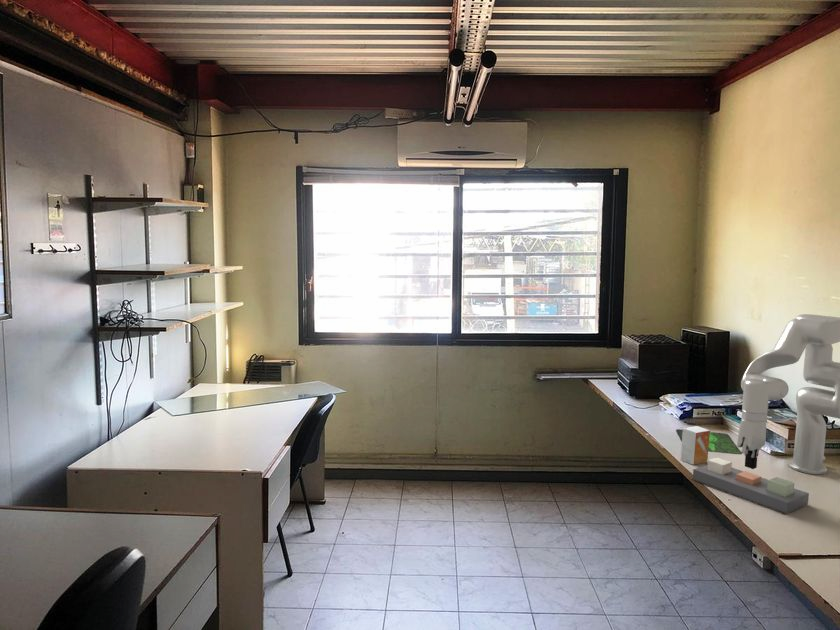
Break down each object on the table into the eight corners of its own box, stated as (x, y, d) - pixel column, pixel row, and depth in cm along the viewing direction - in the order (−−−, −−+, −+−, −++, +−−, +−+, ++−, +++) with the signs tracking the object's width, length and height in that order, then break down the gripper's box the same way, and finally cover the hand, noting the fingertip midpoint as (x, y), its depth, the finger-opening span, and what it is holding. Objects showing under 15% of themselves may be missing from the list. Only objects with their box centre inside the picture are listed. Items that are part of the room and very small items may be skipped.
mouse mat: (744, 455, 240) (744, 453, 240) (686, 450, 245) (686, 448, 245) (726, 435, 266) (727, 432, 266) (674, 430, 271) (674, 428, 271)
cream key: (715, 470, 216) (716, 457, 215) (730, 475, 211) (731, 462, 211) (706, 473, 213) (707, 460, 212) (721, 478, 208) (723, 465, 208)
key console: (714, 472, 221) (715, 462, 220) (807, 504, 194) (808, 493, 193) (692, 479, 213) (693, 469, 213) (786, 514, 186) (787, 502, 186)
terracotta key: (744, 484, 207) (745, 471, 207) (760, 490, 203) (761, 476, 202) (735, 488, 204) (736, 474, 204) (751, 494, 200) (752, 479, 199)
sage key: (775, 491, 198) (776, 476, 198) (793, 497, 194) (794, 482, 193) (766, 494, 195) (768, 480, 195) (784, 501, 191) (786, 486, 190)
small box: (693, 465, 227) (696, 432, 226) (679, 459, 233) (682, 428, 231) (708, 462, 231) (710, 430, 229) (694, 457, 237) (696, 425, 235)
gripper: (755, 409, 207) (751, 459, 210) (731, 416, 199) (727, 468, 202) (777, 414, 201) (773, 466, 204) (753, 422, 193) (749, 475, 196)
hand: (750, 467), depth 203 cm, fingers closed
